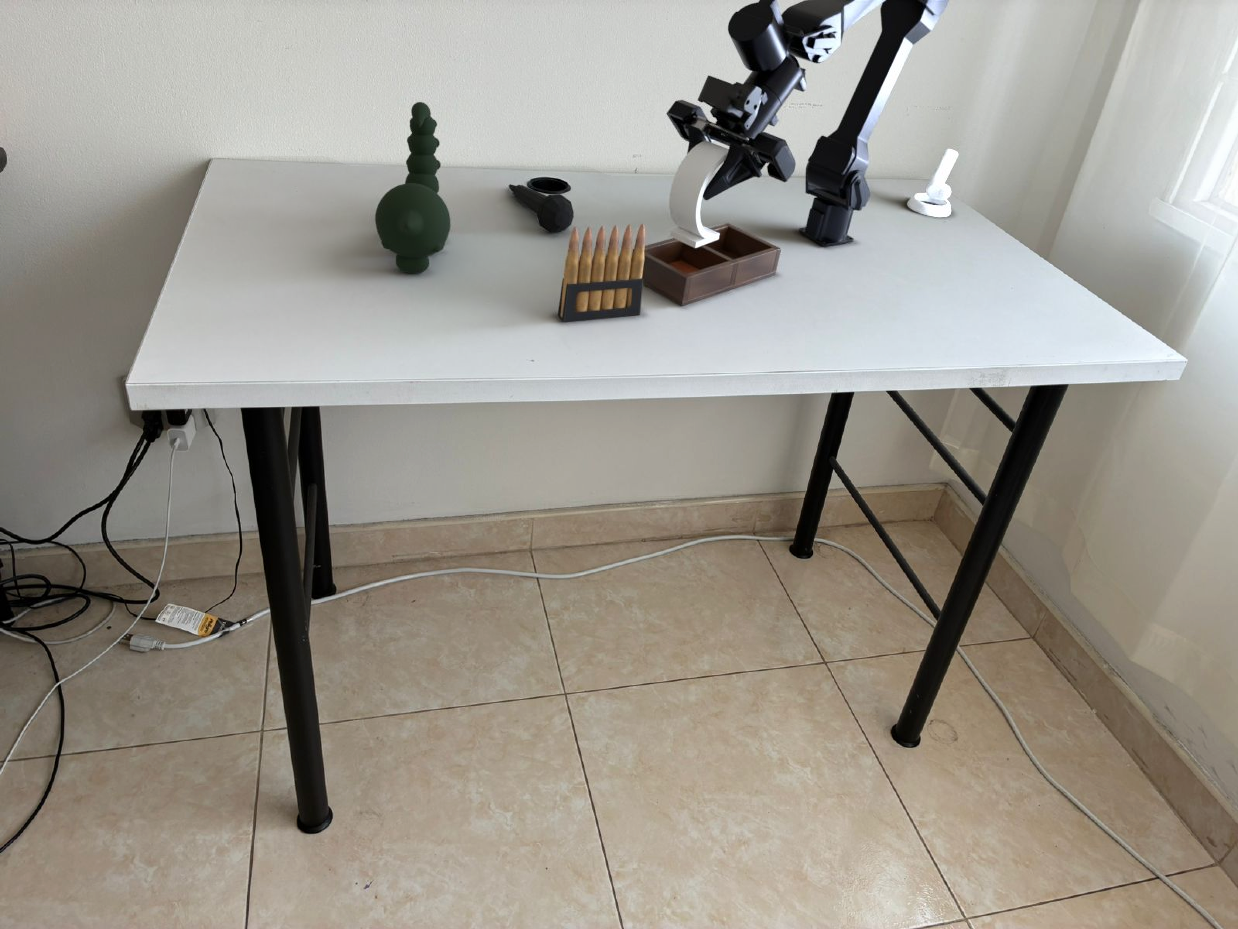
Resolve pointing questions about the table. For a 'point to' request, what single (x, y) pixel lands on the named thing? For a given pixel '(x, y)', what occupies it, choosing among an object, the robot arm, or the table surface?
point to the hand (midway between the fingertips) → (691, 192)
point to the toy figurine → (415, 201)
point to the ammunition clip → (602, 277)
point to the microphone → (546, 208)
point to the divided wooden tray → (708, 265)
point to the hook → (936, 190)
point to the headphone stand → (694, 193)
